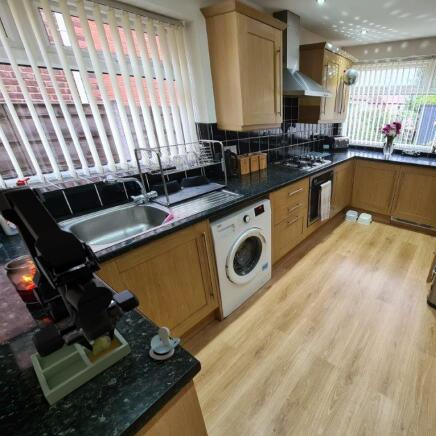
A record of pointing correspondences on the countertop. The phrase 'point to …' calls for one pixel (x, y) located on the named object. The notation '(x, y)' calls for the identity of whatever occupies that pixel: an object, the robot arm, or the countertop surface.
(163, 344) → the pacifier
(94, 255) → the robot arm
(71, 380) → the green divided tray
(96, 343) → the lime
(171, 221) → the countertop surface
